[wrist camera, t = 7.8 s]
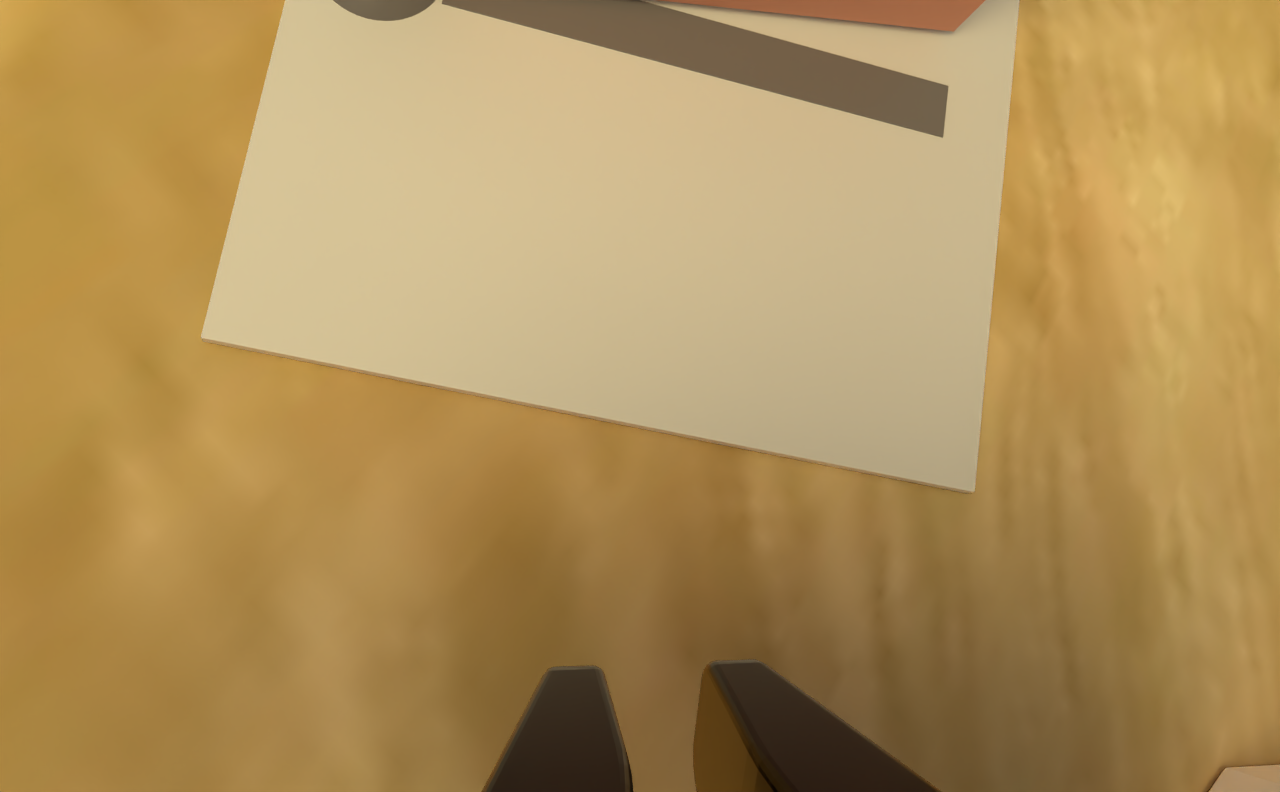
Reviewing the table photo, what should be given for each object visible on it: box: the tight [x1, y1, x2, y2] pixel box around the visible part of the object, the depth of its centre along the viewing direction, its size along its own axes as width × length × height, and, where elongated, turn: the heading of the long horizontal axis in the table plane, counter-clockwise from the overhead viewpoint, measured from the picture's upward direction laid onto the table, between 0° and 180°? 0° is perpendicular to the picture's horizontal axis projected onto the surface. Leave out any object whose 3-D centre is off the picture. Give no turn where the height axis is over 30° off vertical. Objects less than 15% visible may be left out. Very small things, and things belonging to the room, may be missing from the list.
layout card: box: [201, 0, 1020, 493], centre depth 23 cm, size 16×15×1 cm
